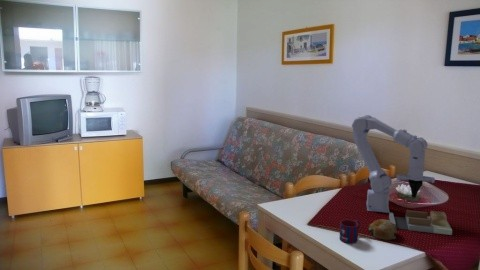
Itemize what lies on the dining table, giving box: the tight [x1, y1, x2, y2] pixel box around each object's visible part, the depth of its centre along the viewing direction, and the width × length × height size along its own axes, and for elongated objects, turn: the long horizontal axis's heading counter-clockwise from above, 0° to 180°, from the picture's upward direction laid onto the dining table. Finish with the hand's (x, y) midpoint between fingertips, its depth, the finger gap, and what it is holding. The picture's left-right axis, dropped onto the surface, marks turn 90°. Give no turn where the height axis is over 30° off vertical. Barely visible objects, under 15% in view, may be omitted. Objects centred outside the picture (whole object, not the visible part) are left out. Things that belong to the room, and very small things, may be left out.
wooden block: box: [429, 210, 448, 226], centre depth 151 cm, size 5×5×4 cm
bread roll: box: [367, 218, 398, 241], centre depth 146 cm, size 10×10×8 cm
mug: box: [339, 219, 360, 245], centre depth 142 cm, size 7×10×7 cm
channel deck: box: [388, 209, 453, 236], centre depth 154 cm, size 22×12×4 cm, turn 73°
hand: (413, 196), depth 160 cm, fingers closed
